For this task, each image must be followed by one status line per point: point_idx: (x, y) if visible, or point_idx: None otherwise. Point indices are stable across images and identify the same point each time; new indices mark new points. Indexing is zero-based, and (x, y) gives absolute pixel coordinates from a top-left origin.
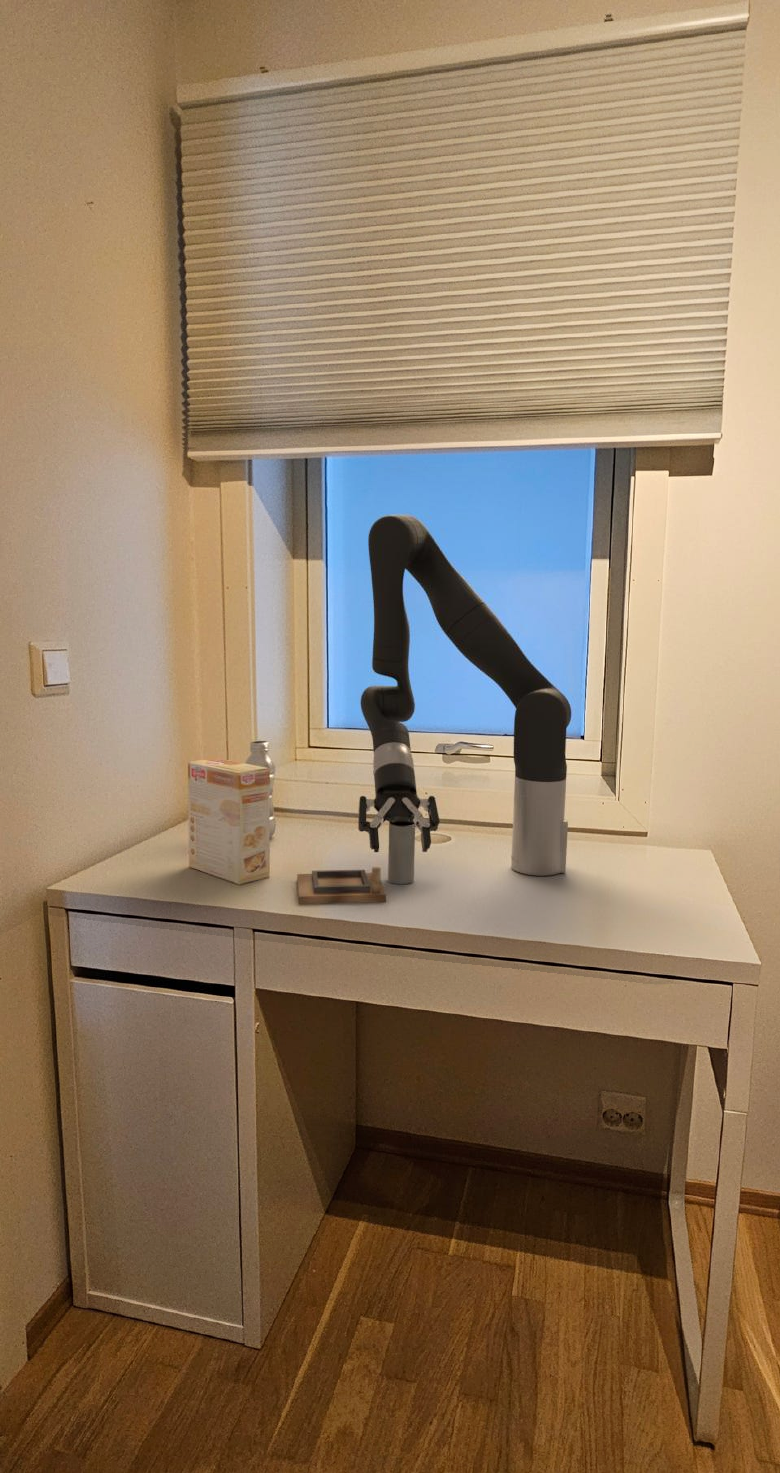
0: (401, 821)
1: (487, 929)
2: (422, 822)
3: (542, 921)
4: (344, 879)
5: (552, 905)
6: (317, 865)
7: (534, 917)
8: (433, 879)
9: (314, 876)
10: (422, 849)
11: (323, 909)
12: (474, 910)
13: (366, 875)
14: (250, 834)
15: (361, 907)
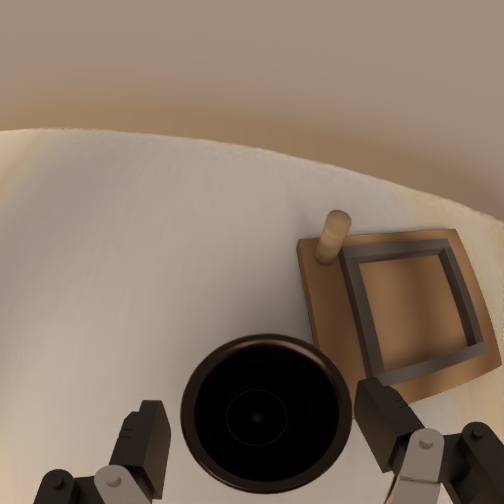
0: (269, 480)
1: (134, 147)
2: (131, 492)
3: (50, 179)
4: (412, 344)
5: (2, 240)
6: None
7: (50, 191)
8: None
9: (471, 308)
10: (169, 436)
11: (404, 212)
12: (120, 211)
13: (364, 332)
14: None
15: None
